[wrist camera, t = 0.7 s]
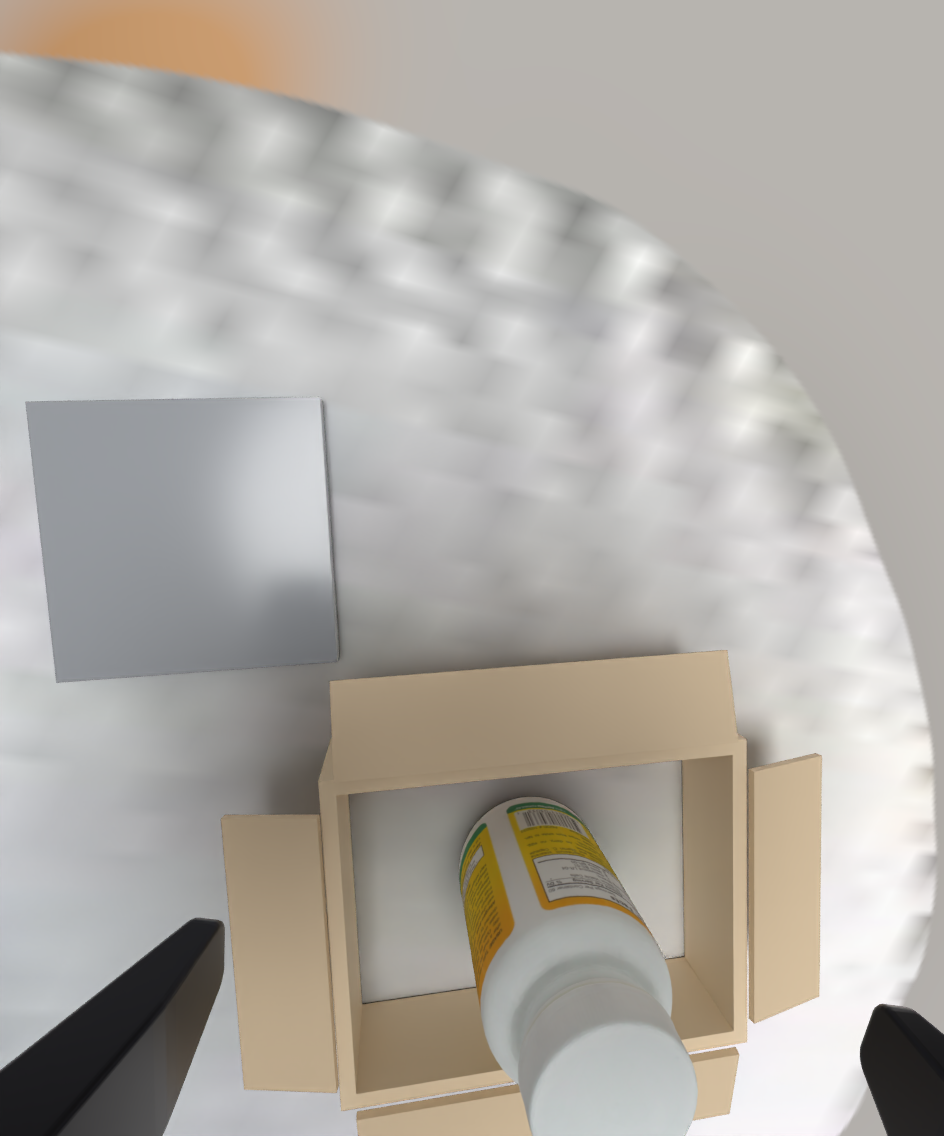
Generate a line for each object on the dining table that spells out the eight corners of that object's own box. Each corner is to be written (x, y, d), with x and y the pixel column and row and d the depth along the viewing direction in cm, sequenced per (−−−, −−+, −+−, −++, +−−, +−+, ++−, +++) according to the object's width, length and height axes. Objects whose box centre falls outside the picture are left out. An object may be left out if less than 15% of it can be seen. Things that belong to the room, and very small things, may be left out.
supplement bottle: (552, 766, 22) (667, 948, 13) (614, 876, 23) (767, 1125, 14) (429, 840, 22) (457, 1083, 13) (497, 950, 23) (571, 1259, 13)
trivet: (339, 656, 21) (337, 661, 20) (69, 676, 20) (56, 682, 19) (322, 401, 20) (319, 396, 19) (40, 406, 19) (25, 401, 18)
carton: (763, 1022, 25) (830, 1114, 21) (274, 1103, 22) (249, 1225, 18) (763, 625, 23) (836, 646, 19) (238, 663, 20) (202, 697, 17)
